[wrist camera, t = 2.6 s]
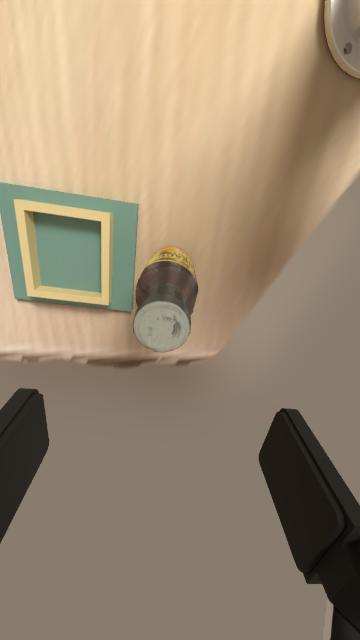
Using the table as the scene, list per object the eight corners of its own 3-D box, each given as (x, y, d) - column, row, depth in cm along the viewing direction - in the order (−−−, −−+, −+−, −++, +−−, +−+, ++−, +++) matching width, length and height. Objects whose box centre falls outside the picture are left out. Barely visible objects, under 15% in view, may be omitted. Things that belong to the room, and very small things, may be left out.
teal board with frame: (138, 204, 30) (135, 203, 28) (132, 309, 37) (129, 317, 34) (-1, 182, 29) (-17, 180, 26) (18, 296, 35) (6, 303, 33)
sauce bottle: (200, 262, 34) (234, 323, 16) (175, 295, 36) (179, 382, 18) (163, 234, 32) (154, 267, 14) (138, 270, 34) (103, 340, 16)
